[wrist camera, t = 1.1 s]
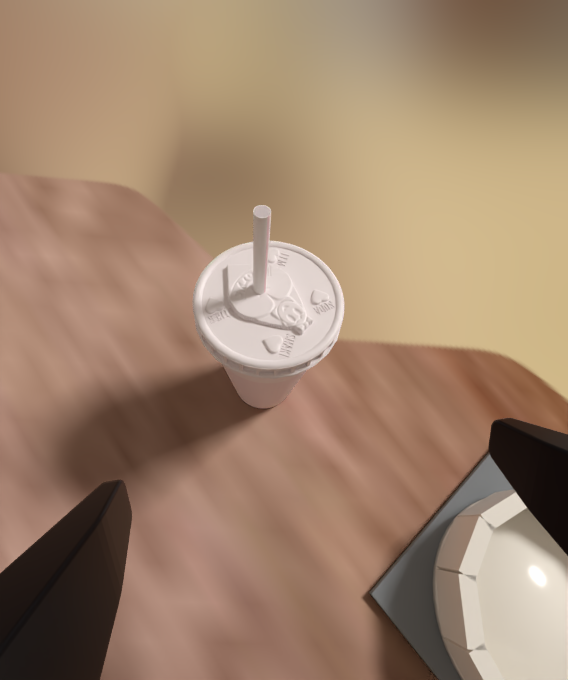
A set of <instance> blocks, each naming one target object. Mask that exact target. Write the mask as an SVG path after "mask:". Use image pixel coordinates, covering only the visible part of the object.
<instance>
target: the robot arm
mask: <svg viewBox="0 0 568 680" xmlns="http://www.w3.org/2000/svg"><path fill="white" fill-rule="evenodd" d="M489 453H490V456H491V458H492V459H493V461H494V462H495V464H496V465H497V466H498V468H499V469H500V471H501V472H502V473H503V475H504V476H505V478H506V479H507V480H508V482H509V483H510V485H511V486H512V488H513V489H514V490H515V492H516V493H517V495H518V496H519V497H520V499H521V500H522V502H523V503H524V504H525V506H526V507H527V508H528V510H529V511H530V512H531V513H532V515H533V516H534V517H535V518H536V519H537V521H538V522H539V523H540V524H541V525H542V527H543V528H544V529H545V530H546V531H547V532H548V534H549V535H550V536H551V537H552V538H553V539H554V541H555V542H556V543H557V544H558V545H559V547H560V548H561V549H562V550H563V551H564V552H565V554H566V555H567V556H568V435H567V434H564V433H561V432H557V431H554V430H550V429H547V428H543V427H540V426H537V425H533V424H530V423H526V422H523V421H519V420H516V419H513V418H505V419H499V420H495V421H494V422H493V423H492V425H491V432H490V440H489ZM131 521H132V511H131V506H130V502H129V498H128V494H127V490H126V486H125V483H124V481H122V480H115V481H108V482H104V483H102V484H101V485H99V486H98V487H97V488H96V489H95V490H94V491H93V492H92V493H90V494H89V495H88V496H87V497H86V498H85V499H84V500H83V501H81V502H80V503H79V504H78V505H77V506H76V507H75V508H73V509H72V510H71V511H70V512H69V513H68V514H67V515H66V516H64V517H63V518H62V519H61V520H60V521H59V522H58V523H57V524H55V525H54V526H53V527H52V528H51V529H50V530H49V531H48V532H46V533H45V534H44V535H43V536H42V537H41V538H40V539H38V540H37V541H36V542H35V543H34V544H33V545H32V546H31V547H29V548H28V549H27V550H26V551H25V552H24V553H23V554H22V555H20V556H19V557H18V558H17V559H16V560H15V561H14V562H12V563H11V564H10V565H9V566H8V567H7V568H6V569H5V570H3V571H2V572H1V573H0V680H100V677H101V673H102V669H103V665H104V661H105V657H106V653H107V649H108V645H109V641H110V637H111V633H112V629H113V625H114V621H115V617H116V613H117V609H118V605H119V600H120V596H121V591H122V585H123V579H124V572H125V564H126V557H127V550H128V543H129V536H130V528H131Z"/></svg>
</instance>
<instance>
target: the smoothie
mask: <svg viewBox="0 0 568 680" xmlns="http://www.w3.org/2000/svg"><path fill="white" fill-rule="evenodd" d="M253 211H254V212H253V242H249V243H244V244H241V245H238V246H235V247H233V248H230V249H228V250H226V251H225V252H223V253H222V254H220V255H219V256H217V257H216V258H215V259H213V260H212V261H211V262H210V263H209V264H208V265H207V266H206V268H205V269H204V270H203V272H202V273H201V275H200V277H199V279H198V281H197V283H196V286H195V289H194V294H193V312H194V317H195V324H196V330H197V332H198V334H199V336H200V339H201V341H202V343H203V345H204V346H205V348H206V349H207V350H208V351H209V352H210V353H211V354H212V355H213V356H214V358H215V359H216V360H217V361H219V362H220V363H222V365H223V367H224V369H225V371H226V372H227V374H228V376H229V378H230V380H231V382H232V384H233V386H234V387H235V389H236V391H237V393H238V395H239V396H240V398H241V399H242V400H243V401H244V402H245V403H247V404H248V405H250V406H253V407H256V408H271V407H274V406H277V405H278V404H280V403H281V402H283V401H284V400H285V399H286V397H287V396H288V395H289V393H290V392H291V391H292V389H293V388H294V387H295V385H296V384H297V383H298V381H299V380H300V379H301V377H302V376H303V374H304V373H305V372H306V370H307V369H310V368H312V367H314V366H315V365H316V364H317V363H318V362H319V361H321V360H322V359H323V358H324V357H325V356H326V355H328V353H329V352H330V350H331V348H332V347H333V345H334V344H335V342H336V341H337V339H338V335H339V331H340V328H341V324H342V321H343V316H344V298H343V294H342V289H341V287H340V284H339V282H338V280H337V278H336V277H335V275H334V274H333V272H332V271H331V270H330V269H329V267H328V266H327V265H326V264H325V263H324V262H323V261H322V260H320V259H319V258H318V257H316V256H315V255H314V254H312V253H310V252H308V251H306V250H305V249H303V248H300V247H298V246H295V245H292V244H288V243H284V242H278V241H269V239H270V221H271V210H270V208H269V207H267V206H265V205H259V206H256V207H255V208H254V210H253Z"/></svg>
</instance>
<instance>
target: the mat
mask: <svg viewBox="0 0 568 680" xmlns="http://www.w3.org/2000/svg"><path fill="white" fill-rule="evenodd" d="M507 490H514V489H513V488H512V486H511V485H510V483H509V482H508V480H507V479H506V478H505V476H504V475H503V473H502V472H501V471H500V469H499V468H498V466H497V465H496V464H495V462H494V461H493V459H492V458H491V456H490V453H489V452H488V454H487V455H486V456H485V457H484V458H483V459H482V461H481V462H480V463H479V464H478V465H477V466H476V468H475V469H474V470H473V471H472V472H471V473H470V475H469V476H468V477H467V478H466V479H465V481H464V482H463V483H462V484H461V485H460V486H459V488H458V489H457V490H456V491H455V492H454V493H453V495H452V496H451V497H450V498H449V499H448V501H447V502H446V503H445V504H444V505H443V506H442V508H441V509H440V510H439V511H438V512H437V513H436V515H435V516H434V517H433V518H432V519H431V521H430V522H429V523H428V524H427V525H426V526H425V528H424V529H423V530H422V531H421V532H420V533H419V535H418V536H417V537H416V538H415V539H414V541H413V542H412V543H411V544H410V545H409V546H408V548H407V549H406V550H405V551H404V552H403V553H402V555H401V556H400V557H399V558H398V559H397V561H396V562H395V563H394V564H393V565H392V566H391V568H390V569H389V570H388V571H387V572H386V573H385V575H384V576H383V577H382V578H381V579H380V581H379V582H378V583H377V584H376V585H375V586H374V588H373V589H372V590H371V591H370V592H369V593H370V595H371V596H372V597H373V598H374V599H375V601H376V602H377V603H378V604H379V606H380V607H381V608H382V609H383V611H384V612H385V613H386V614H387V616H388V617H389V618H390V619H391V621H392V622H393V623H394V624H395V626H396V627H397V628H398V629H399V631H400V632H401V633H402V634H403V636H404V637H405V638H406V639H407V641H408V642H409V643H410V644H411V646H412V647H413V648H414V649H415V651H416V652H417V653H418V654H419V656H420V657H421V658H422V659H423V661H424V662H425V663H426V664H427V666H428V667H429V668H430V669H431V671H432V672H433V673H434V674H435V676H436V677H437V678H438V679H439V680H462V679H461V678H460V676H459V674H458V673H457V671H456V669H455V668H454V666H453V664H452V662H451V659H450V657H449V655H448V653H447V651H446V648H445V646H444V643H443V640H442V637H441V634H440V631H439V627H438V623H437V619H436V615H435V608H434V601H433V569H434V563H435V558H436V553H437V550H438V547H439V544H440V541H441V539H442V537H443V535H444V533H445V531H446V529H447V527H448V526H449V525H450V523H451V522H452V520H453V519H454V518H455V517H456V516H457V515H458V514H459V513H460V512H461V511H462V510H463V509H465V508H466V507H467V506H469V505H470V504H472V503H474V502H476V501H478V500H480V499H484V498H486V497H488V496H489V495H491V494H493V493H495V492H501V491H507Z"/></svg>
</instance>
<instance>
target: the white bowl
mask: <svg viewBox="0 0 568 680" xmlns="http://www.w3.org/2000/svg"><path fill="white" fill-rule="evenodd" d="M433 601H434V608H435V615H436V619H437V623H438V627H439V631H440V634H441V637H442V640H443V643H444V646H445V648H446V651H447V653H448V655H449V657H450V659H451V662H452V664H453V666H454V668H455V669H456V671H457V673H458V674H459V676H460V678H461V679H462V680H568V556H567V555H566V554H565V552H564V551H563V550H562V549H561V548H560V547H559V545H558V544H557V543H556V542H555V541H554V539H553V538H552V537H551V536H550V535H549V534H548V532H547V531H546V530H545V529H544V528H543V527H542V525H541V524H540V523H539V522H538V521H537V519H536V518H535V517H534V516H533V515H532V513H531V512H530V511H529V510H528V508H527V507H526V506H525V504H524V503H523V502H522V500H521V499H520V497H519V496H518V495H517V493H516V492H515V490H507V491H501V492H495V493H493V494H491V495H489V496H488V497H486V498H484V499H480V500H478V501H476V502H474V503H472V504H470V505H469V506H467V507H466V508H465V509H463V510H462V511H461V512H460V513H459V514H458V515H457V516H456V517H455V518H454V519H453V520H452V522H451V523H450V525H449V526H448V527H447V529H446V531H445V533H444V535H443V537H442V539H441V541H440V544H439V547H438V550H437V553H436V558H435V563H434V569H433Z"/></svg>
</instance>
